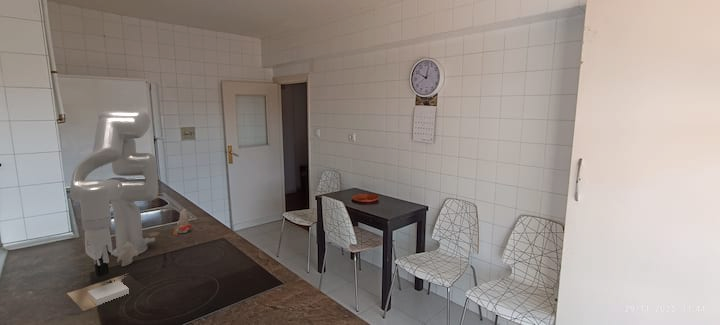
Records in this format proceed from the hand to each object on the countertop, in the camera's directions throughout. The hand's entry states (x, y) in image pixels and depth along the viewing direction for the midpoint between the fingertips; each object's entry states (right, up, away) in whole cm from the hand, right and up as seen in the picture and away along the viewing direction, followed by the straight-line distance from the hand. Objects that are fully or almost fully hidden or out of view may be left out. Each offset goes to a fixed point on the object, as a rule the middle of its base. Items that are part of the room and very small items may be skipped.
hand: (102, 274), depth 117 cm
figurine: (-3, +3, +57) cm, 57 cm away
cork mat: (+1, -6, +1) cm, 6 cm away
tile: (0, -5, 0) cm, 5 cm away
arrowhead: (-5, -3, +20) cm, 21 cm away
